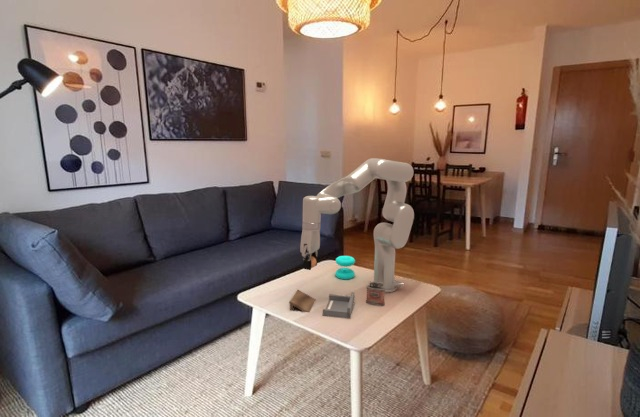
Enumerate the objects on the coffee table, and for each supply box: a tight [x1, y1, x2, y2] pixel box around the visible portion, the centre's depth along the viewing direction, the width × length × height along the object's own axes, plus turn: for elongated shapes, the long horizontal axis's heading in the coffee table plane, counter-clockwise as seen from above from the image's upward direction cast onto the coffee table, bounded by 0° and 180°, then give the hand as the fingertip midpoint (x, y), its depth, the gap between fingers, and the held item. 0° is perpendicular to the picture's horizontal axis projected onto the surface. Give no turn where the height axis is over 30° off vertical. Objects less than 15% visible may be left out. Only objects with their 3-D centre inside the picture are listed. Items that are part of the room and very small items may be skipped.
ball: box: [311, 256, 318, 269], centre depth 150 cm, size 5×5×5 cm
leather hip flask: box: [365, 280, 385, 307], centre depth 151 cm, size 8×3×10 cm, turn 70°
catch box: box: [322, 292, 355, 320], centre depth 147 cm, size 11×15×4 cm
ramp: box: [288, 289, 316, 313], centre depth 150 cm, size 9×12×5 cm
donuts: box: [335, 255, 356, 280], centre depth 182 cm, size 10×10×10 cm
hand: (310, 266), depth 150 cm, fingers closed on ball, 4 cm apart
